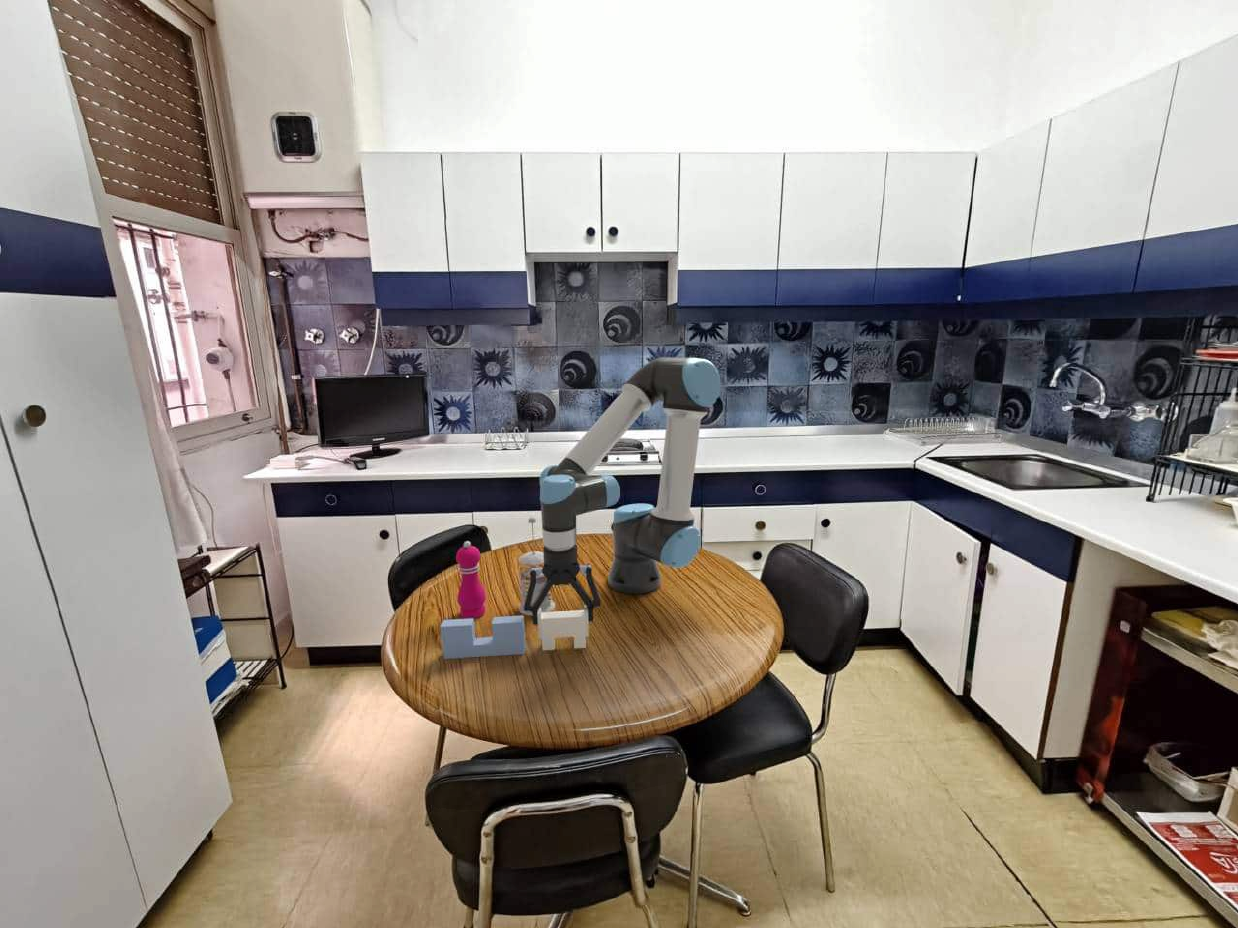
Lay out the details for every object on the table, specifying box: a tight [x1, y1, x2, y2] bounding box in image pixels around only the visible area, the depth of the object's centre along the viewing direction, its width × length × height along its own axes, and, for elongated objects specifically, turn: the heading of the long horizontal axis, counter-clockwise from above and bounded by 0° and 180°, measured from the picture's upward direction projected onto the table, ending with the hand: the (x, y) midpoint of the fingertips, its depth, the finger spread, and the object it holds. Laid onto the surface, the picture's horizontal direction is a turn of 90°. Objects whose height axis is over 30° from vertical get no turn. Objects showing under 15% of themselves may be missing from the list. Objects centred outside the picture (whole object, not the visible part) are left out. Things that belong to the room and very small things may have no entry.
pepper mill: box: [455, 540, 487, 619], centre depth 140 cm, size 7×7×20 cm
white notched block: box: [541, 609, 587, 651], centre depth 126 cm, size 10×3×8 cm, turn 95°
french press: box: [517, 516, 556, 616], centre depth 142 cm, size 10×12×25 cm
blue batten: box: [440, 614, 527, 660], centre depth 123 cm, size 18×3×8 cm, turn 95°
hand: (564, 634), depth 126 cm, fingers closed on white notched block, 10 cm apart
